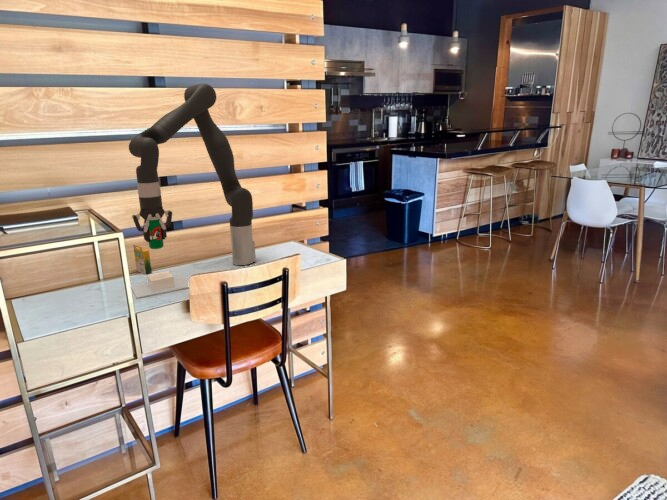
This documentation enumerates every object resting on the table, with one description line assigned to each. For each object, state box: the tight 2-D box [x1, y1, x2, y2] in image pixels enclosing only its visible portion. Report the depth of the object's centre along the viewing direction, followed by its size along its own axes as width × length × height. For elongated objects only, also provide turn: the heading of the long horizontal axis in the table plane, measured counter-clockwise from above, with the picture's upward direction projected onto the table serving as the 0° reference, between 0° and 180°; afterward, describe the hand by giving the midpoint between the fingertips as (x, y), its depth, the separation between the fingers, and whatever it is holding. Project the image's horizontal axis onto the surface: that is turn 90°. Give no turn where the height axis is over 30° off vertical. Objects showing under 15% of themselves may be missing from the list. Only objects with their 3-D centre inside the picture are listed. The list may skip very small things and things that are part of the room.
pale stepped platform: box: [131, 270, 189, 300], centre depth 175 cm, size 20×14×5 cm
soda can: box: [147, 216, 164, 250], centre depth 169 cm, size 5×5×12 cm
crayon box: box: [132, 244, 153, 276], centre depth 191 cm, size 7×3×12 cm, turn 50°
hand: (155, 240), depth 170 cm, fingers closed on soda can, 5 cm apart
